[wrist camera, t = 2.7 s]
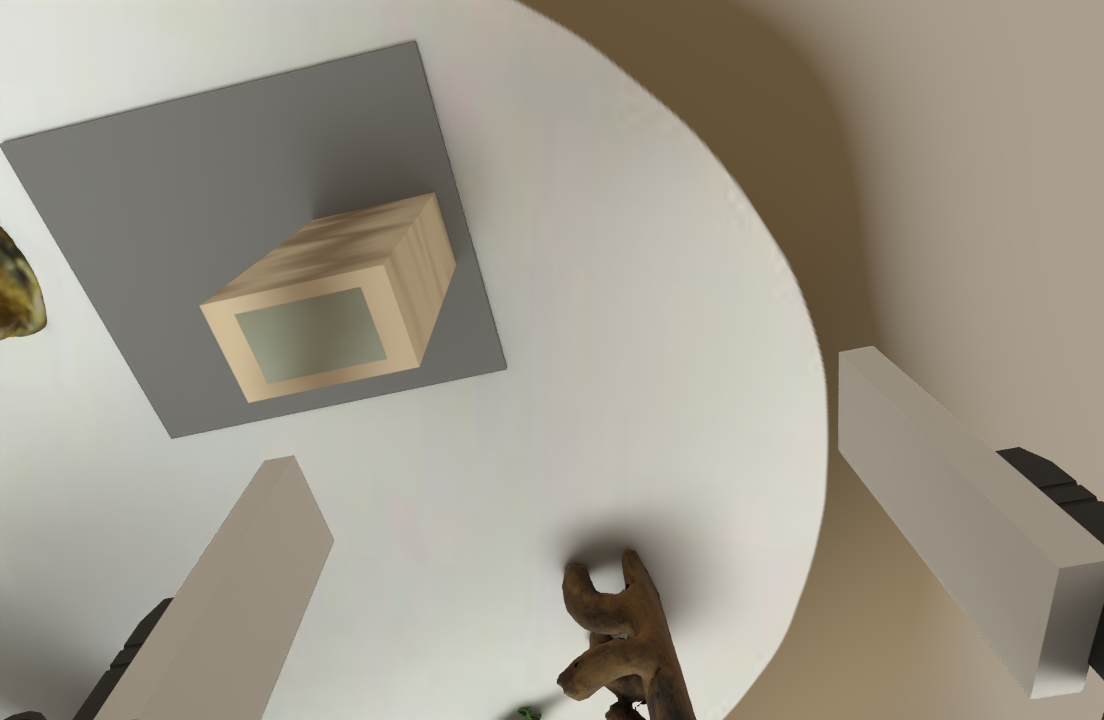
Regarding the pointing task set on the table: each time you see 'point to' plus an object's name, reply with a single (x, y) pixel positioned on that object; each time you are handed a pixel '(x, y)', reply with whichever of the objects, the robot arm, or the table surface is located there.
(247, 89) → the rubber mat
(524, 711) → the figurine
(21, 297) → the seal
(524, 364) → the table surface
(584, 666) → the figurine
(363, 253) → the beech block
